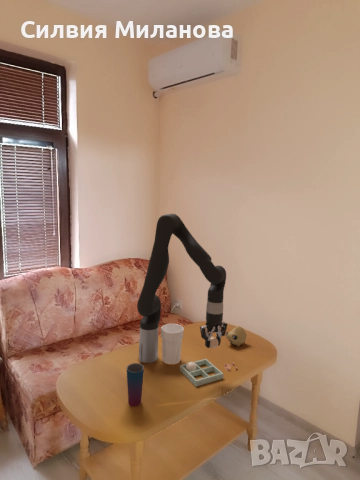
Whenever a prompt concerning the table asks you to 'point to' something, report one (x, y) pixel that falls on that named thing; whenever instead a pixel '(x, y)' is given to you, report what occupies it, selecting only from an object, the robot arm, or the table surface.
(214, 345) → the brown egg
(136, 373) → the cup
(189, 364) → the cream egg
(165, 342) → the cup
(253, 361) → the table surface
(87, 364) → the table surface
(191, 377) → the egg tray
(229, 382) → the table surface
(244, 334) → the yellow toy animal head
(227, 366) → the egg cup
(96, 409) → the table surface
